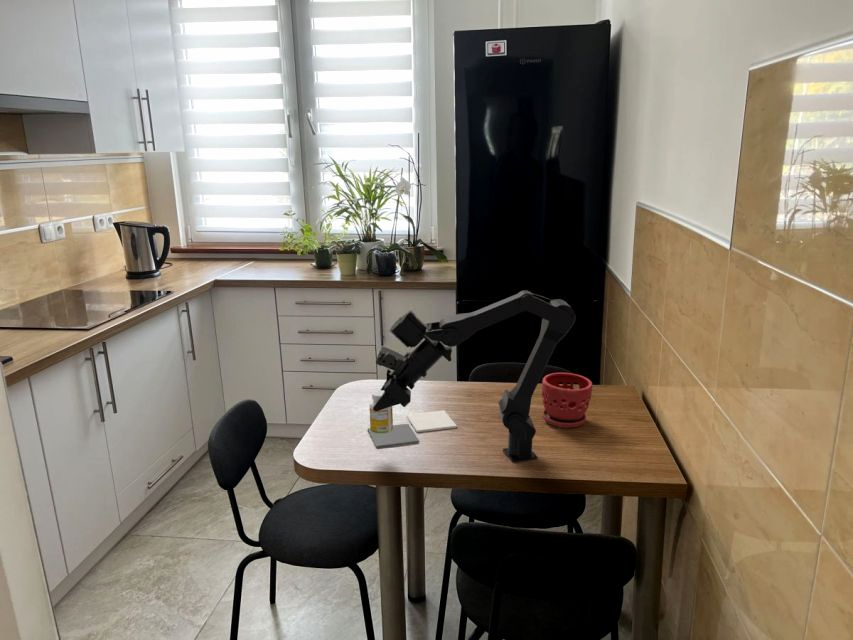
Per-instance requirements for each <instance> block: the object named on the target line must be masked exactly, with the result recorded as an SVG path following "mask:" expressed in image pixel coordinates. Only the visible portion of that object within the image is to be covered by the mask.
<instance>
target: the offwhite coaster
mask: <svg viewBox="0 0 853 640" xmlns="http://www.w3.org/2000/svg"><path fill="white" fill-rule="evenodd" d="M406 418H407V420H408V421H410V422H409V424H410V425H411V424H412V425H411V426H412V428H413V429H414V432H416V433H426V432H434V431H440V430H449V429H456V428H457V427H458V426H457V424H456V423H455V422H454V421H453V419H452V418H451V417H450V416H449V414H448V413H447V412H446V411H445V410H444V409H443V410H435V411H428V412H419V413H411V414H409V413H408V414H406Z"/></svg>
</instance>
